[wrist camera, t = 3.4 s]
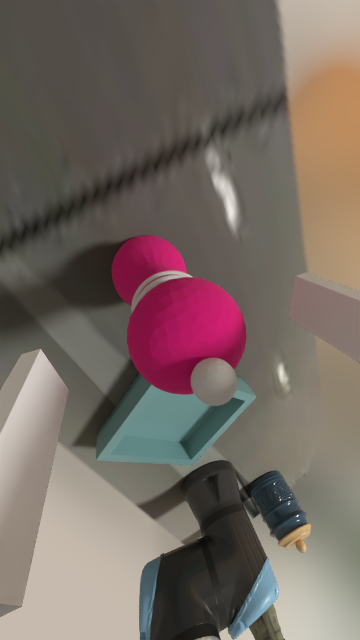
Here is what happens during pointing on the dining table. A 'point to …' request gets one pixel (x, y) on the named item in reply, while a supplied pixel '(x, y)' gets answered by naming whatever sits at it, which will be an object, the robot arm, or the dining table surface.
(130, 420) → the tray
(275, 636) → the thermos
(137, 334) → the pepper mill
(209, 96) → the dining table surface
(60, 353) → the dining table surface
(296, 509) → the canister
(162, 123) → the dining table surface
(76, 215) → the dining table surface
